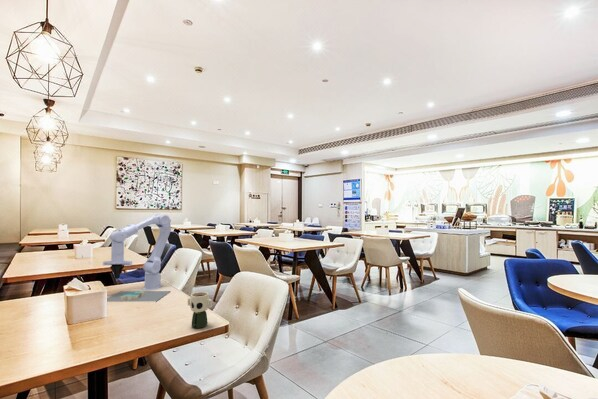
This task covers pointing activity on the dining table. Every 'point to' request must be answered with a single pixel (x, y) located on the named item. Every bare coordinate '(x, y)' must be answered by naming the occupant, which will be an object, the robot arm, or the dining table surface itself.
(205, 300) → the character mug
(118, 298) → the rubber mat
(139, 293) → the birch tile
